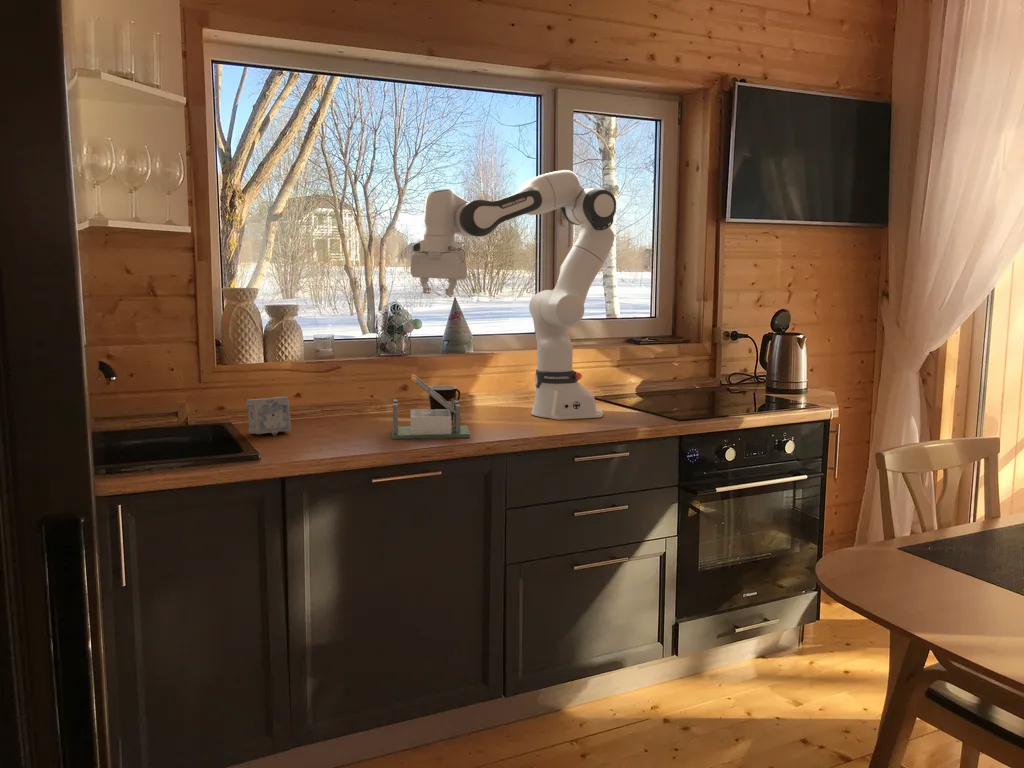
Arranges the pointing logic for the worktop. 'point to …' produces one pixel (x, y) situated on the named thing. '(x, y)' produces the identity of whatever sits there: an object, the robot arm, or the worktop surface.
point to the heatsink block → (430, 424)
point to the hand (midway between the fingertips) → (437, 294)
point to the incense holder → (268, 415)
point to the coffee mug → (444, 396)
